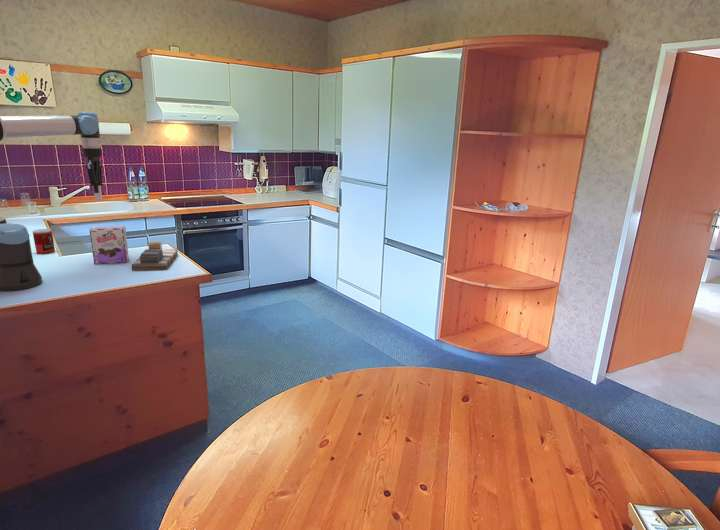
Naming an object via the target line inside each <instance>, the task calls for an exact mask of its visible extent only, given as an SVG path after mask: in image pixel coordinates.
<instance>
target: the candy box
mask: <svg viewBox="0 0 720 530" xmlns="http://www.w3.org/2000/svg"><path fill="white" fill-rule="evenodd" d="M126 230H127V229H126V226H125V225H123V226H92V227H91V228H89V235H90V242H91V250H92V258H93V264H94V265H101V264H102V265H103V264H104V265H107V264H127V263H128V262H129V261H130V256H129V247H128V246H129V245H128V239H127V231H126Z"/></svg>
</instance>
